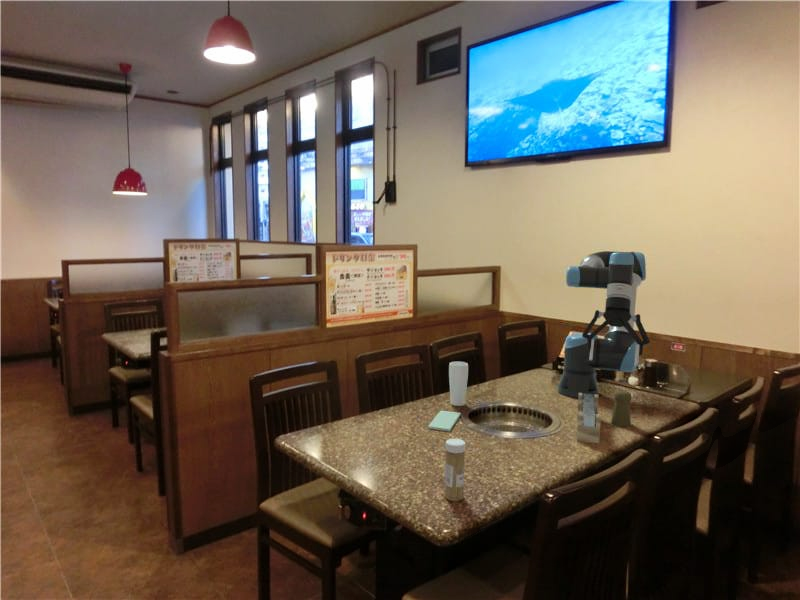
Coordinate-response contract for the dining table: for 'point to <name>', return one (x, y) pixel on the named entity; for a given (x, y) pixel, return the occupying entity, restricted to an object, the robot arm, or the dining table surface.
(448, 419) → the sage board
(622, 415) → the olive round-headed peg
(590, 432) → the hook stands
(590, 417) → the steel rail
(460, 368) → the drinking glass
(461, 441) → the sprinkles bottle
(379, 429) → the dining table surface
